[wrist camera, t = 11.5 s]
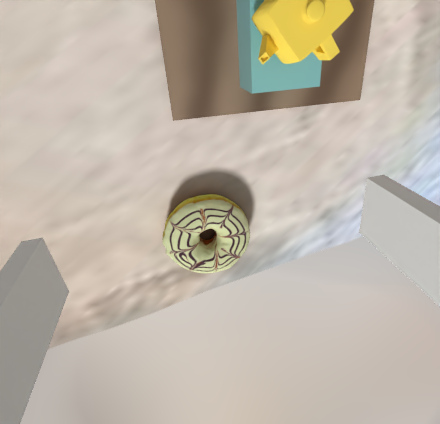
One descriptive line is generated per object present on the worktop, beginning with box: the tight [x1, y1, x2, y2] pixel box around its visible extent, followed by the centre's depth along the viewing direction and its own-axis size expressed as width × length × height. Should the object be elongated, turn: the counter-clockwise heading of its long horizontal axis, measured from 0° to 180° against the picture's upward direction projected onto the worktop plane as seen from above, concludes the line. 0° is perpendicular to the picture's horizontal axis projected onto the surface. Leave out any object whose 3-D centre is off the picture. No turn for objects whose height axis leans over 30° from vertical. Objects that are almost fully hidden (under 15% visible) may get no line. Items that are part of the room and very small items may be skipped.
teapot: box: [252, 0, 354, 64], centre depth 21 cm, size 8×6×5 cm
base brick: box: [236, 0, 322, 94], centre depth 26 cm, size 6×9×5 cm, turn 4°
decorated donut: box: [163, 194, 250, 273], centre depth 37 cm, size 10×11×4 cm
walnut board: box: [155, 0, 374, 121], centre depth 28 cm, size 20×14×1 cm
